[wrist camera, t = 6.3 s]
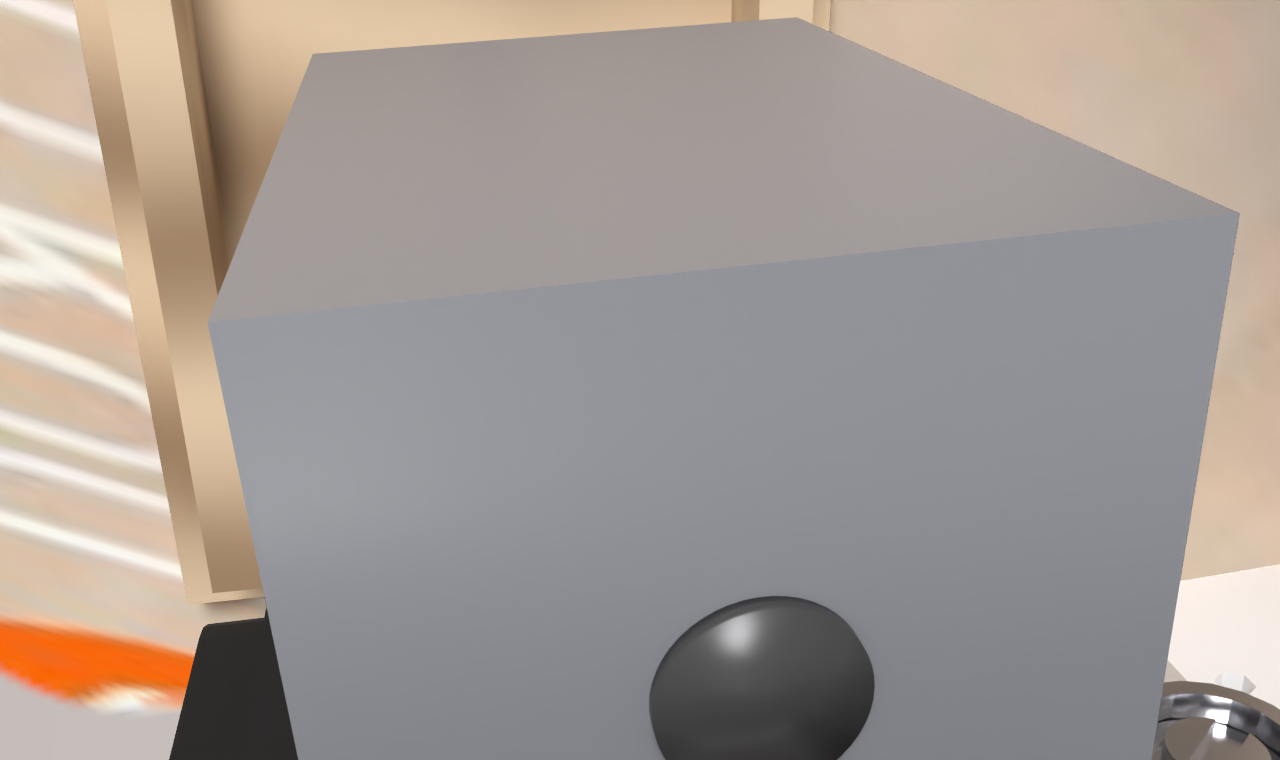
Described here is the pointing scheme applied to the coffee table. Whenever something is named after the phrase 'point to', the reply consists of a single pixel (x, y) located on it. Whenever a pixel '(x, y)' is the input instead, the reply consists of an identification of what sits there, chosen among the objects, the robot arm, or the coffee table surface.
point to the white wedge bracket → (1229, 632)
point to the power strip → (712, 407)
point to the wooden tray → (257, 185)
